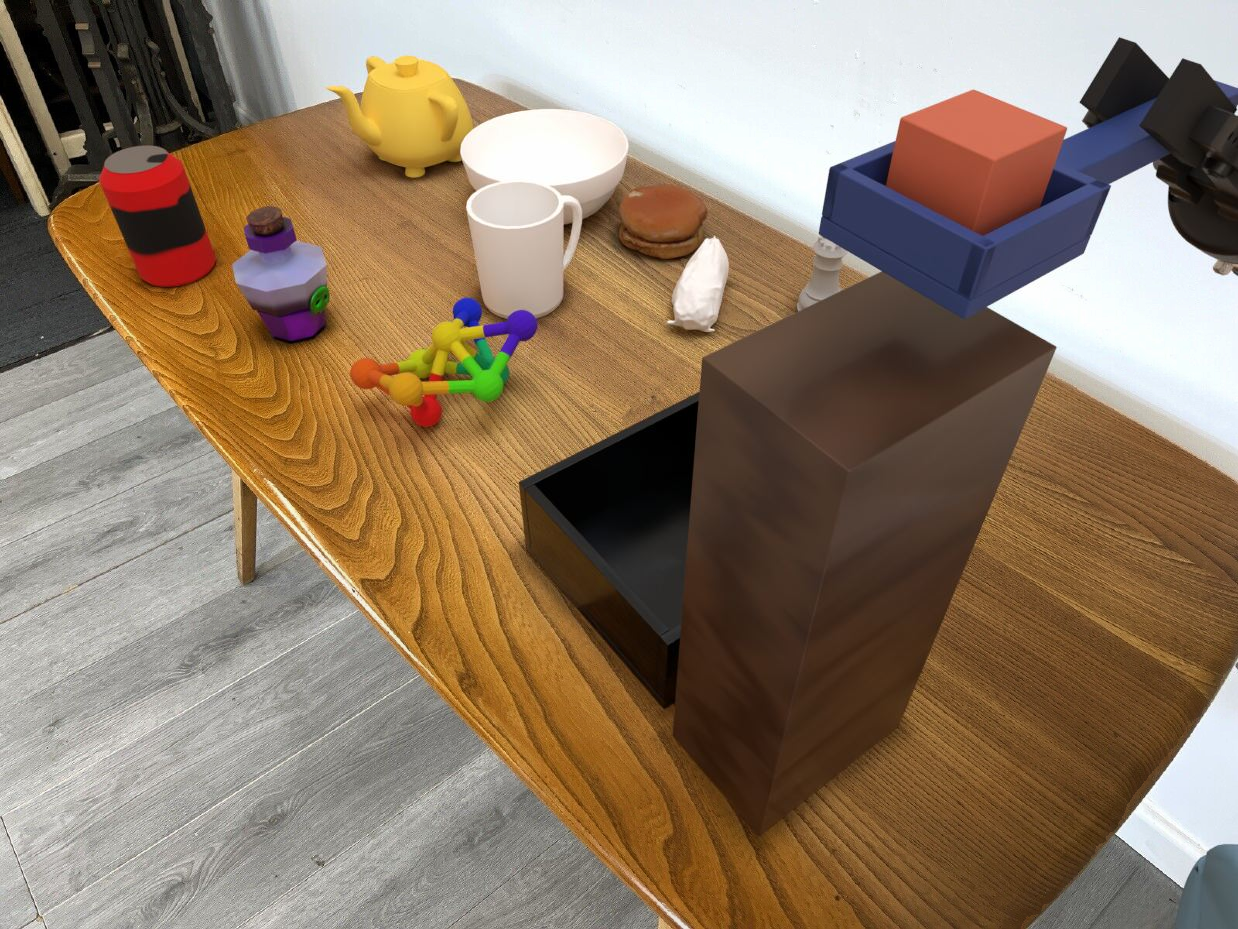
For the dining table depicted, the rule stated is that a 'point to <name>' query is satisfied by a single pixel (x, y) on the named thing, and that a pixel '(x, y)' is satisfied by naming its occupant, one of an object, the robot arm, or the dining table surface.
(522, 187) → the mug
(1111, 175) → the blue long-handled scoop
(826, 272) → the rook chess piece
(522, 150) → the bowl
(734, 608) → the stand
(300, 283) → the potion bottle
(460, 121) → the teapot
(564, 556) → the black square open box
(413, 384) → the decorative model
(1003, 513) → the dining table surface
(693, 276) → the white cloth bag
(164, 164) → the soda can
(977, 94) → the block
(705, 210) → the burger
